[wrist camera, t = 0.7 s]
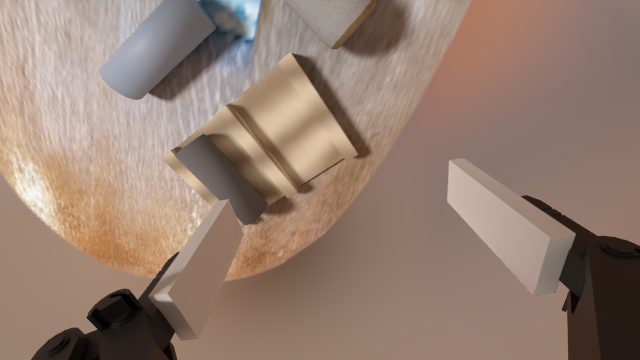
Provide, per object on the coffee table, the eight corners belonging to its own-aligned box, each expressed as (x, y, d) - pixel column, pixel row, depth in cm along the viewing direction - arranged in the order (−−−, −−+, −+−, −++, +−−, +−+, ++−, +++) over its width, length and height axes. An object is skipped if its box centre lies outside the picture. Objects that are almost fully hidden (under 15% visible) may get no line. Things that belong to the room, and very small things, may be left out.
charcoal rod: (180, 152, 36) (169, 158, 32) (207, 132, 36) (200, 134, 32) (244, 217, 41) (242, 229, 36) (267, 198, 41) (268, 209, 37)
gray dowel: (150, 94, 35) (129, 103, 30) (117, 63, 32) (89, 68, 28) (220, 29, 31) (207, 29, 27) (188, -12, 29) (169, -19, 24)
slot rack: (171, 152, 38) (161, 158, 35) (292, 53, 32) (290, 52, 29) (241, 221, 43) (236, 230, 41) (355, 148, 37) (358, 154, 35)
